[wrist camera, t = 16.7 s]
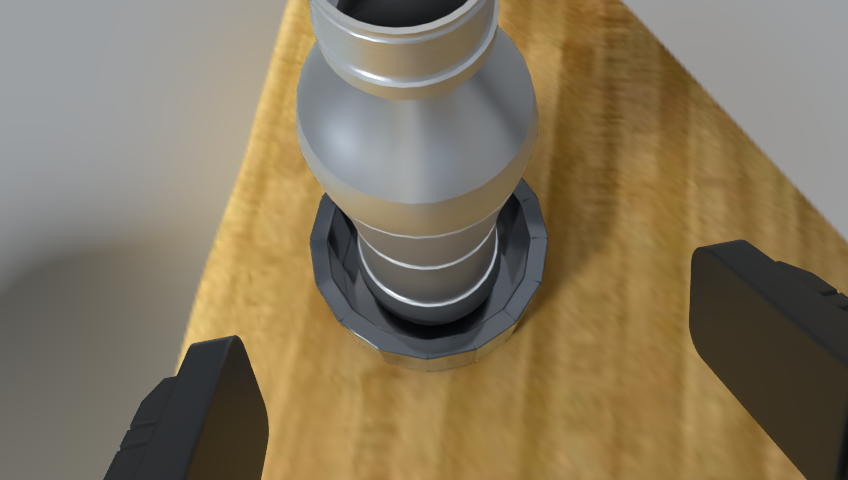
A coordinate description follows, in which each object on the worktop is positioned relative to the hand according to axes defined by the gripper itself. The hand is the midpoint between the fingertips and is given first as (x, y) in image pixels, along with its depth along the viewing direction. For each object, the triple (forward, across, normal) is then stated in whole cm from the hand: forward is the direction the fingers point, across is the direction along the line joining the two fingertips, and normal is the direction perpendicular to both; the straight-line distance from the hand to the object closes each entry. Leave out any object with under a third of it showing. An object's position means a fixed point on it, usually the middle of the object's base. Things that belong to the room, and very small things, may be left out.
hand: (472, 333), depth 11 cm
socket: (+18, 0, +8) cm, 20 cm away
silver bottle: (+18, 0, +8) cm, 19 cm away
